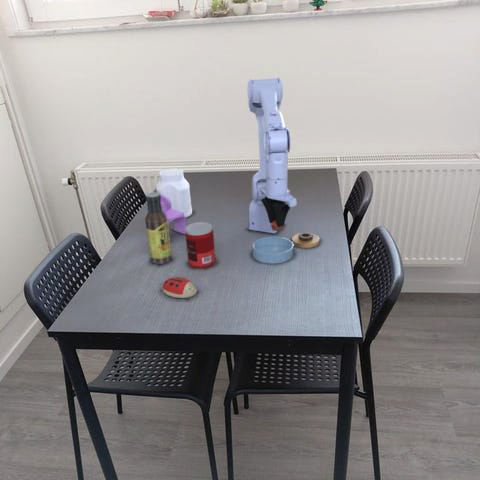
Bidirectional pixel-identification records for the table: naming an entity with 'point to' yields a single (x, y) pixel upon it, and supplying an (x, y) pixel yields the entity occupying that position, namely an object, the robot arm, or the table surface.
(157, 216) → the sauce bottle
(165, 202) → the toy chair
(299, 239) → the holder
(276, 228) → the ball
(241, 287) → the table surface
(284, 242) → the light blue bowl
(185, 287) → the ladybug figurine
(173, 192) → the jar
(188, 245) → the canned food
